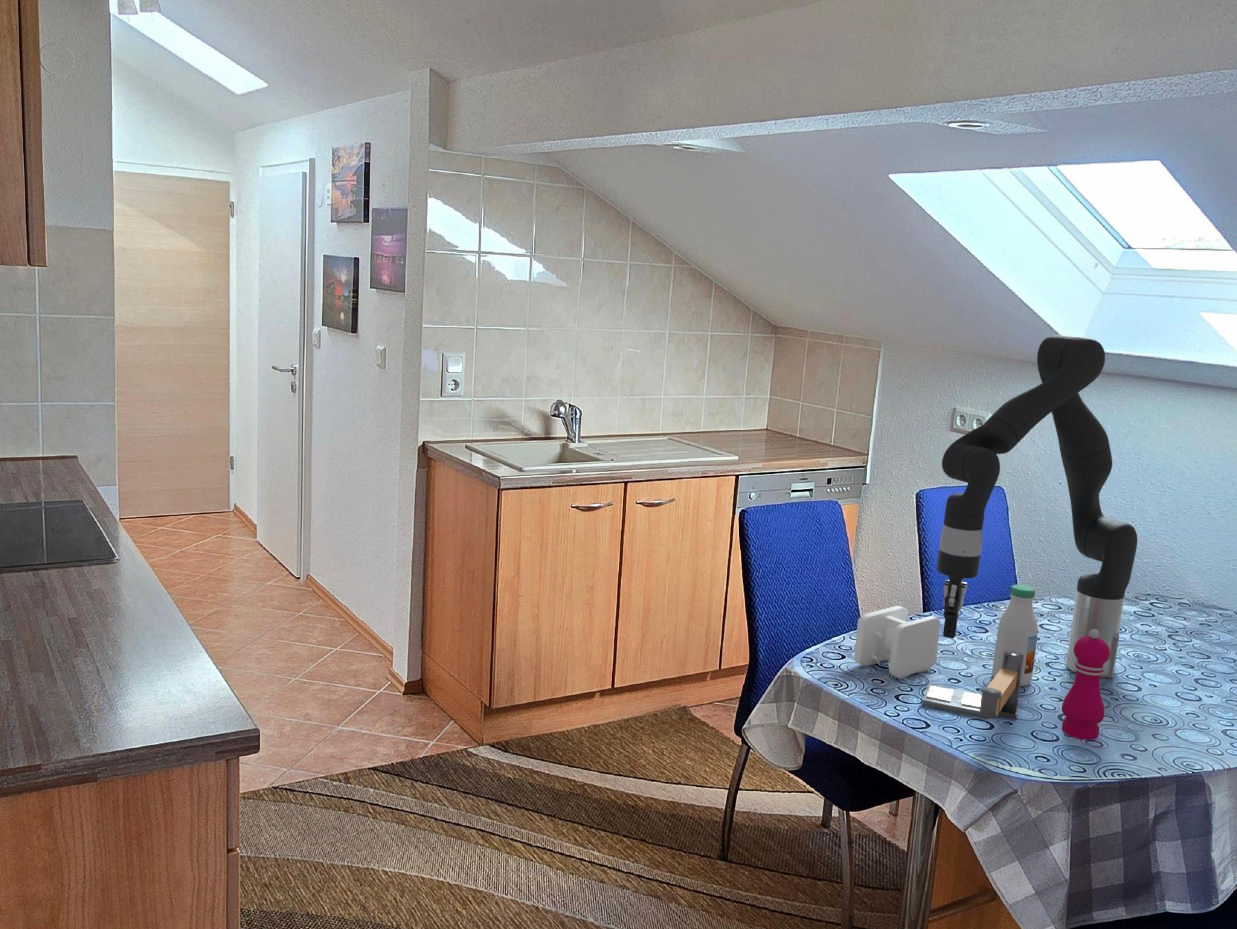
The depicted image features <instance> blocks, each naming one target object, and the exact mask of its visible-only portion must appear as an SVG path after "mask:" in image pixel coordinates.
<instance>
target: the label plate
mask: <svg viewBox="0 0 1237 929" xmlns="http://www.w3.org/2000/svg"><path fill="white" fill-rule="evenodd" d="M981 695H982V693H978V692H972V691H967V690H963V689H958V688H953V687H947V686H942V685H936V684H931V683H928V684H927V687H926V690H925V693H924V694H923V697H922V703H921V706H922V707H926V708H931V709H937V710H941V711H946V712H951V713H956V714H961V715H966V716H971V717H975V718H980V719H985V720H988V719H989V718H985V717H983V716H981V715H980V703H981Z"/></svg>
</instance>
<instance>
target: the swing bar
mask: <svg viewBox="0 0 1237 929" xmlns="http://www.w3.org/2000/svg"><path fill="white" fill-rule="evenodd" d="M1016 681H1017V672H1013V671H1009V670H1005V669H1000V671H999V672H998V673H997V675H996V676H995V677H994V678H992V680H991V681H990V683H989V684H988V685H987V687H983V688H982V690H981V694H982V695H981V703H980V715H981V716H983V717H985V718H988V719H991V720H997V719H999V717H1000V716H999V712H1000V710H1001V709H1002V707H1003V706H1004V704H1005V703H1006V701H1007V700H1008V698H1009V697H1010V695H1011V694H1012V692H1013V691H1014V689H1015V688H1016ZM985 718H984V719H985Z"/></svg>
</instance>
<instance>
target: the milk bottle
mask: <svg viewBox="0 0 1237 929" xmlns="http://www.w3.org/2000/svg"><path fill="white" fill-rule="evenodd" d="M1009 596H1010V602H1009V603H1008V605H1007V607H1006V608H1005V610H1004V611H1003V613H1002V615H1001V617H1000V619H999V621H998V622H999V623H998V626H997V633H996V637H995V638H996V640H995V645H994V646H995V648H994V655H993V663H992V668H991V669H992V671H991V672H992V673H991V675H992V679H994V677H995V676H996V675H997V673H998V672H999V671H1000V669H1001V668H1002V661H1003V653H1004V651H1016V652H1019V653H1022V654H1023V655H1024V658H1023V666H1022V673H1021V681H1020V687H1024V686H1028V685H1030V684H1031V682H1032V677H1033V672H1034V665H1035V656H1036V650H1037V649H1036V648H1037V640H1038V633H1039V632H1038V621H1037V618H1036V615H1035V612H1034V606H1033V605H1034V604H1033V601H1034V600H1035V596H1036V589H1035V588H1034V587H1032V586H1029V585H1024V584H1012V585H1011V587H1010V595H1009Z"/></svg>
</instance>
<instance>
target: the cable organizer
mask: <svg viewBox="0 0 1237 929" xmlns="http://www.w3.org/2000/svg"><path fill="white" fill-rule="evenodd" d="M908 616H909V611H908V609H907V608H905V607H904V606H903V607H902V606H900V605H894V606H891V607H887V608H883V609H879V610H878V609H877V610H875V611H872V612H867V613H864V614H862V615H861V616H860V617H859V618H858V619H857V626H856V628H857V629H856V635H855V638H856V639H855V645H854V646H855V647H854V655H853V659H854V661H855V663H856V664H860V666H861V665H862V666H864V667H869V666H873V665H875V664H878V666H880V662H882V661H883V662H884V661H888V667H887V669H889V671H888V673H889V674H890V675H891V676H892V677H893V678H894V677H895V678H896V679H899V680H903V679H905V678H907V677H909V676H910V675H914V674H916V673H919V674H920V673H923V672H926V671H928V670H929V669H931V668H932V667H933V666H934V665H935V663H936V662H937V658H938V650H939V648H938V647H939V642H940V631H941V620H940V618H938V617H935V616H931V615H929V616H927V617H922V618H919V619H916V620H915V619H914V620H911V621H908V618H909V617H908Z"/></svg>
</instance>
